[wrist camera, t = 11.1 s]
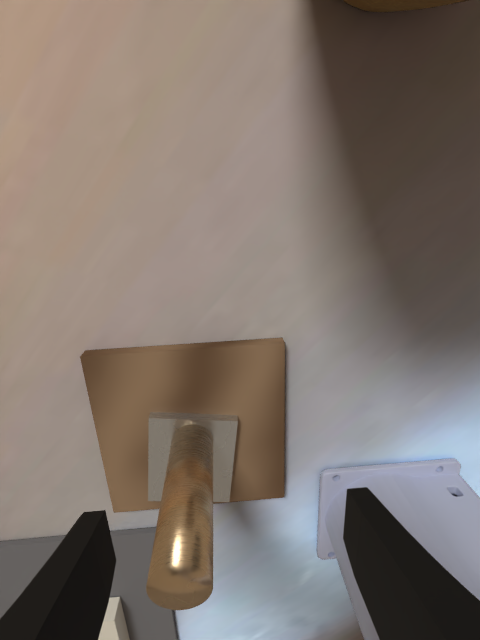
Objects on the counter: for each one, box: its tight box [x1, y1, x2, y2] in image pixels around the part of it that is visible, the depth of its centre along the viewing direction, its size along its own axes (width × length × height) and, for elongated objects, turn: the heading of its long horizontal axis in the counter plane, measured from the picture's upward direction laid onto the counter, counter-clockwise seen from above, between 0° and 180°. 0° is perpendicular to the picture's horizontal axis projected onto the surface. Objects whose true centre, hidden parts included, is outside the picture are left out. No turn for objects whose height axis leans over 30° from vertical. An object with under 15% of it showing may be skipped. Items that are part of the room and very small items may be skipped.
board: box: [80, 338, 285, 513], centre depth 21 cm, size 11×11×1 cm
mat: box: [0, 527, 178, 640], centre depth 26 cm, size 14×18×1 cm
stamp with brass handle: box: [146, 412, 238, 610], centre depth 17 cm, size 6×5×9 cm
